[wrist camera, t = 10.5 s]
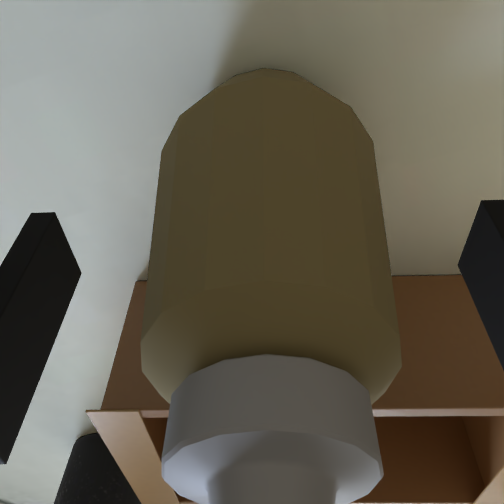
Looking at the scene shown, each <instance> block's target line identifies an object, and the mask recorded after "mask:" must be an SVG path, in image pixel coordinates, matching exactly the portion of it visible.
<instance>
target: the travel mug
mask: <svg viewBox="0 0 504 504" xmlns="http://www.w3.org/2000/svg"><path fill="white" fill-rule="evenodd" d="M54 504H142V503H141V502H140V500H139V499H138V497H137V495H136V494H135V492H134V490H133V489H132V487H131V485H130V484H129V482H128V480H127V479H126V477H125V476H124V474H123V472H122V471H121V469H120V467H119V466H118V464H117V462H116V461H115V459H114V457H113V456H112V454H111V453H110V451H109V449H108V448H107V446H106V444H105V443H104V441H103V439H102V438H101V436H100V434H91V435H86V436H83V437H81V438H79V439H78V440H77V441H76V442H75V444H74V446H73V449H72V452H71V455H70V457H69V460H68V463H67V466H66V469H65V472H64V475H63V478H62V481H61V484H60V487H59V490H58V493H57V496H56V499H55V502H54Z"/></svg>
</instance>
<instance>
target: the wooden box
mask: <svg viewBox="0 0 504 504" xmlns="http://www.w3.org/2000/svg"><path fill="white" fill-rule="evenodd" d="M392 283H393V291H394V298H395V305H396V312H397V319H398V327H399V334H400V345H401V359H402V367H401V369H400V370H399V372H398V373H397V375H396V377H395V378H394V380H393V381H392V383H391V384H390V386H389V387H388V389H387V390H386V392H385V393H384V394H383V395H382V396H381V397H380V398H379V399H378V400H377V401H375V402H374V403H373V404H372V405H371V406H372V411H373V417H374V422H375V427H376V433H377V438H378V444H379V449H380V455H381V460H382V466H383V472H384V476H383V477H382V479H381V480H380V481H379V482H378V483H377V485H376V486H375V487H374V488H373V489H372V490H371V492H370V493H369V494H368V495H366V496H364V497H361V498H359V499H357V500H355V501H353V502H351V503H349V504H504V371H503V368H502V366H501V364H500V361H499V359H498V357H497V355H496V352H495V350H494V348H493V345H492V343H491V341H490V338H489V336H488V334H487V332H486V329H485V327H484V325H483V322H482V320H481V318H480V315H479V313H478V311H477V308H476V306H475V304H474V302H473V299H472V297H471V295H470V292H469V290H468V288H467V285H466V283H465V281H464V279H463V276H462V275H433V276H392ZM146 287H147V281H136V283H135V286H134V290H133V294H132V297H131V301H130V304H129V308H128V312H127V315H126V319H125V323H124V326H123V330H122V333H121V337H120V341H119V344H118V348H117V352H116V355H115V359H114V363H113V366H112V370H111V373H110V377H109V381H108V384H107V388H106V392H105V395H104V399H103V402H102V406H101V410H86V413H87V415H88V416H89V418H90V420H91V421H92V423H93V425H94V426H95V428H96V430H97V431H98V433H99V434H100V436H101V438H102V439H103V441H104V443H105V444H106V446H107V448H108V449H109V451H110V453H111V454H112V456H113V457H114V459H115V461H116V462H117V464H118V466H119V467H120V469H121V471H122V472H123V474H124V476H125V477H126V479H127V480H128V482H129V484H130V485H131V487H132V489H133V490H134V492H135V494H136V495H137V497H138V499H139V500H140V502H141V503H142V504H199V503H196V502H194V501H192V500H189V499H187V498H185V497H183V496H180V495H179V494H178V493H177V492H176V491H175V490H174V489H173V488H172V487H171V486H170V485H169V484H168V483H166V482H165V481H164V479H163V478H162V452H163V446H164V440H165V433H166V427H167V421H168V414H169V408H170V404H169V403H168V402H167V401H166V400H165V399H164V398H163V397H162V396H161V395H160V394H159V393H158V391H157V390H156V389H155V388H154V386H153V385H152V384H151V382H150V381H149V380H148V379H147V377H146V376H145V375H144V373H143V372H142V363H141V346H140V341H141V332H142V323H143V314H144V305H145V296H146Z"/></svg>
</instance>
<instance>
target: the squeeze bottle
mask: <svg viewBox="0 0 504 504" xmlns="http://www.w3.org/2000/svg"><path fill="white" fill-rule="evenodd" d="M140 346H141V363H142V372H143V373H144V375H145V376H146V377H147V379H148V380H149V381H150V382H151V384H152V385H153V386H154V388H155V389H156V390H157V391H158V393H159V394H160V395H161V396H162V397H163V398H164V399H165V400H166V401H167V402H168V403H169V404H170V408H169V414H168V421H167V427H166V433H165V440H164V446H163V452H162V478H163V479H164V481H165V482H166V483H168V484H169V485H170V486H171V487H172V488H173V489H174V490H175V491H176V492H177V493H178V494H179V495H180V496H183V497H185V498H187V499H189V500H192V501H194V502H196V503H199V504H349V503H351V502H353V501H355V500H357V499H359V498H361V497H364V496H366V495H368V494H369V493H370V492H371V490H372V489H373V488H374V487H375V486H376V485H377V483H378V482H379V481H380V480H381V479H382V477H383V476H384V472H383V466H382V460H381V455H380V449H379V444H378V438H377V433H376V427H375V422H374V417H373V411H372V406H371V405H372V404H373V403H374V402H375V401H377V400H378V399H379V398H380V397H381V396H382V395H383V394H384V393H385V392H386V390H387V389H388V387H389V386H390V384H391V383H392V381H393V380H394V378H395V377H396V375H397V373H398V372H399V370H400V369H401V367H402V359H401V345H400V334H399V327H398V319H397V312H396V305H395V298H394V291H393V283H392V276H391V269H390V262H389V254H388V247H387V240H386V233H385V225H384V218H383V211H382V204H381V196H380V189H379V182H378V175H377V167H376V160H375V153H374V146H373V141H372V139H371V137H370V136H369V134H368V133H367V131H366V130H365V128H364V127H363V125H362V124H361V122H360V121H359V119H358V118H357V116H356V114H355V113H354V111H353V110H352V108H351V107H350V106H348V105H347V104H345V103H343V102H342V101H340V100H338V99H337V98H335V97H333V96H332V95H330V94H328V93H327V92H325V91H323V90H322V89H320V88H318V87H317V86H315V85H314V84H312V83H310V82H309V81H307V80H305V79H304V78H302V77H300V76H299V75H297V74H295V73H294V72H288V71H281V70H274V69H267V68H262V69H258V70H255V71H251V72H247V73H243V74H239V75H235V76H234V77H232V78H231V79H229V80H228V81H226V82H224V83H223V84H221V85H220V86H218V87H217V88H215V89H214V90H213V91H211V92H210V93H209V94H207V95H206V96H205V97H203V98H202V99H201V100H199V101H198V102H197V103H196V104H194V105H193V106H192V107H190V108H189V109H188V110H186V111H185V112H184V113H183V114H181V115H180V116H179V118H178V120H177V122H176V124H175V126H174V128H173V130H172V132H171V134H170V136H169V138H168V140H167V141H166V143H165V145H164V147H163V149H162V153H161V161H160V170H159V179H158V188H157V197H156V206H155V215H154V224H153V233H152V242H151V251H150V260H149V269H148V278H147V287H146V296H145V305H144V314H143V323H142V332H141V341H140Z"/></svg>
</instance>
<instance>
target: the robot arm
mask: <svg viewBox="0 0 504 504" xmlns="http://www.w3.org/2000/svg"><path fill="white" fill-rule="evenodd" d="M458 267H459V269H460V272H461V274H462V276H463V279H464V281H465V283H466V285H467V288H468V290H469V292H470V295H471V297H472V299H473V302H474V304H475V306H476V308H477V311H478V313H479V315H480V318H481V320H482V322H483V325H484V327H485V329H486V332H487V334H488V336H489V338H490V341H491V343H492V345H493V348H494V350H495V352H496V355H497V357H498V359H499V361H500V364H501V366H502V368H503V371H504V200H481V203H480V206H479V208H478V211H477V214H476V216H475V219H474V222H473V225H472V227H471V230H470V233H469V235H468V238H467V241H466V244H465V246H464V249H463V252H462V254H461V257H460V260H459V263H458ZM80 276H81V271H80V268H79V266H78V264H77V261H76V259H75V257H74V255H73V252H72V250H71V248H70V245H69V243H68V241H67V239H66V236H65V234H64V232H63V229H62V227H61V225H60V223H59V220H58V218H57V216H56V213H55V212H50V213H31V214H30V216H29V218H28V219H27V221H26V223H25V225H24V226H23V228H22V230H21V231H20V233H19V235H18V237H17V238H16V240H15V242H14V244H13V245H12V247H11V249H10V250H9V252H8V254H7V256H6V257H5V259H4V261H3V262H2V264H1V266H0V464H6V463H7V461H8V458H9V456H10V453H11V451H12V448H13V446H14V443H15V440H16V438H17V435H18V433H19V430H20V428H21V425H22V423H23V420H24V418H25V415H26V413H27V410H28V408H29V405H30V403H31V400H32V397H33V395H34V392H35V390H36V387H37V385H38V382H39V380H40V377H41V375H42V372H43V370H44V367H45V365H46V362H47V359H48V357H49V354H50V352H51V349H52V347H53V344H54V342H55V339H56V337H57V334H58V332H59V329H60V327H61V324H62V322H63V319H64V316H65V314H66V311H67V309H68V306H69V304H70V301H71V299H72V296H73V294H74V291H75V289H76V286H77V284H78V281H79V278H80Z"/></svg>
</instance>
